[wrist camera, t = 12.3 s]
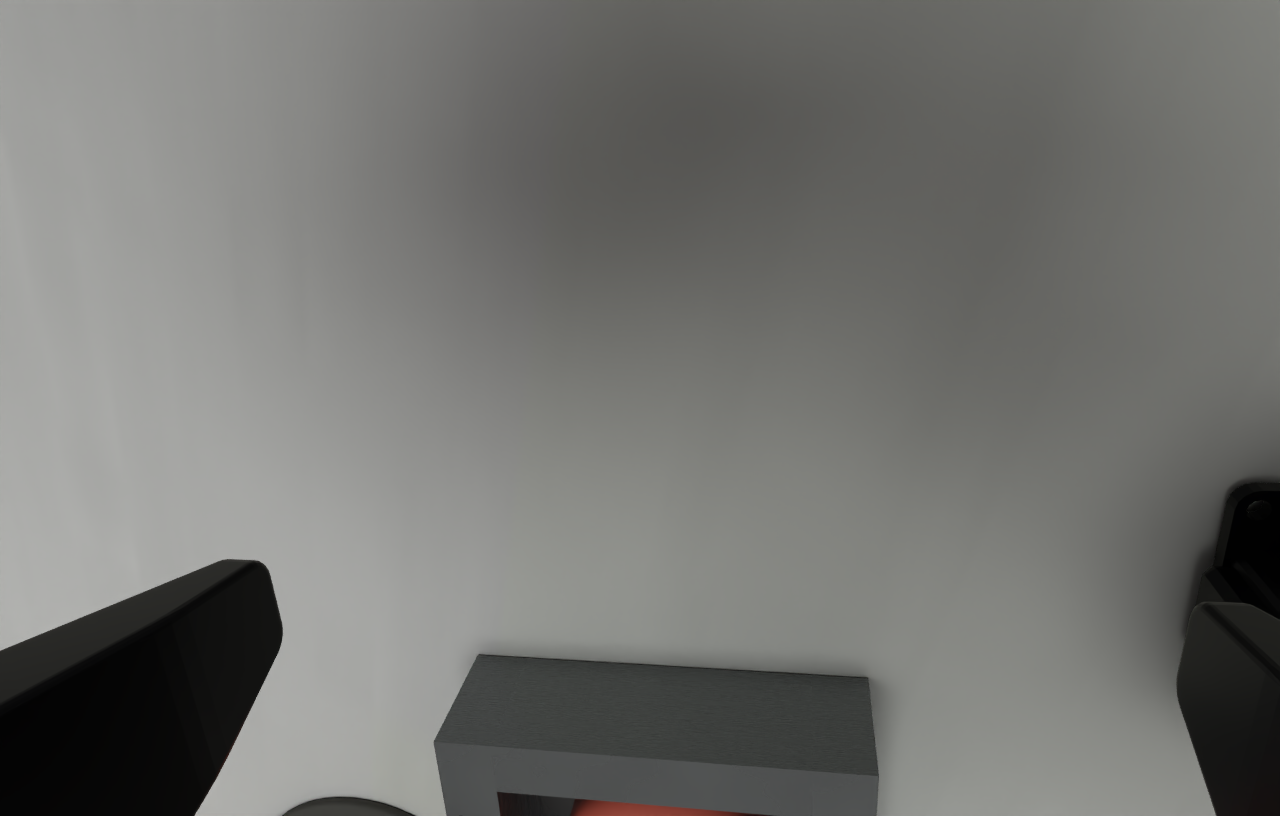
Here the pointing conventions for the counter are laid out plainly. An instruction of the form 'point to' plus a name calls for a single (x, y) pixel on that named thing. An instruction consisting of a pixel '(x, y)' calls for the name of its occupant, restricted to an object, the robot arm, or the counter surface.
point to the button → (641, 810)
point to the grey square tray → (655, 740)
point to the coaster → (344, 808)
